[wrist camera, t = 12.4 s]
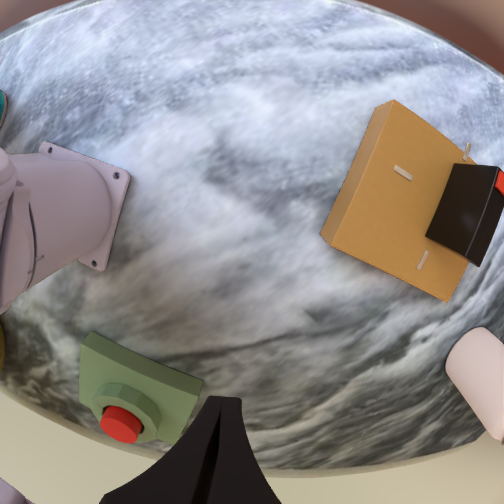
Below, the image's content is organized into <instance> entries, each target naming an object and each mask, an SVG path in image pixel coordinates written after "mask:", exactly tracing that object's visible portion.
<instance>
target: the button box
mask: <svg viewBox="0 0 504 504" xmlns="http://www.w3.org/2000/svg"><path fill="white" fill-rule="evenodd" d="M202 383H203V381H202V380H199V379H197V378H194V377H191V376H189V375H186V374H184V373H181V372H179V371H176V370H174V369H171V368H169V367H166V366H164V365H162V364H159V363H157V362H155V361H152V360H150V359H148V358H145V357H143V356H141V355H139V354H137V353H135V352H132V351H130V350H128V349H126V348H124V347H122V346H120V345H118V344H116V343H114V342H112V341H110V340H108V339H106V338H104V337H102V336H100V335H98V334H97V333H95V332H93V331H92V332H91V333H90V334H89V335H88V336H87V337H86V338H85V339H84V341H83V342H82V343H81V350H80V372H79V402H80V403H82V404H84V405H86V406H87V407H89V408H91V410H92V412H93V413H94V415H95V417H96V418H97V420H98V421H99V423H100V420H101V418H102V416H103V415H104V413H105V411H106V409H107V408H108V407H109V406H119V407H122V408H124V409H126V410H128V411H130V412H132V413H133V414H134V415H135V416H137V417H138V418H139V419H140V420H141V422H142V428H141V430H140V433H139V435H138V438H137V440H136V442H147V441H150V440H153V439H155V438H157V439H159V440H162V441H165V442H167V443H170V444H173V445H175V444H176V442H177V441H178V439H179V437H180V435H181V433H182V431H183V429H184V427H185V425H186V423H187V421H188V419H189V417H190V415H191V413H192V411H193V409H194V407H195V405H196V403H197V400H198V398H199V396H200V391H201V387H202Z"/></svg>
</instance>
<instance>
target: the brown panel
mask: <svg viewBox="0 0 504 504" xmlns="http://www.w3.org/2000/svg"><path fill="white" fill-rule="evenodd" d="M470 148H471V144H470V143H469V142H467V144H466V147H465V151H464V152H463V151H462V150H461V149H459V148H458V147H457V146H456V145H455V144H454V143H452V142H451V141H450V140H449V139H448V138H446V137H445V136H444V135H443V134H441V133H440V132H439V131H438V130H436V129H435V128H434V127H433V126H431V125H430V124H429V123H427V122H426V121H425V120H423V119H422V118H420V117H419V116H418V115H416V114H415V113H413V112H412V111H411V110H409V109H408V108H406V107H405V106H403V105H402V104H400V103H399V102H397V101H396V100H394V99H393V100H391V101H389V102H386V103H384V104H382V105H380V106H378V107H376V108H375V110H374V112H373V115H372V117H371V120H370V122H369V125H368V127H367V130H366V132H365V135H364V137H363V139H362V142H361V144H360V146H359V149H358V151H357V153H356V156H355V158H354V160H353V163H352V165H351V167H350V170H349V172H348V174H347V176H346V179H345V181H344V183H343V185H342V187H341V190H340V192H339V194H338V196H337V198H336V201H335V203H334V205H333V207H332V209H331V211H330V213H329V216H328V218H327V220H326V222H325V224H324V226H323V228H322V230H321V232H320V235H321V236H322V237H323V238H324V239H325V241H326V242H327V243H328V244H329V245H330V246H331V247H334V248H336V249H338V250H340V251H342V252H344V253H347V254H349V255H351V256H353V257H355V258H357V259H359V260H361V261H364V262H366V263H368V264H370V265H372V266H374V267H376V268H378V269H380V270H382V271H384V272H386V273H388V274H391V275H393V276H395V277H397V278H399V279H401V280H403V281H405V282H407V283H409V284H411V285H413V286H415V287H417V288H419V289H421V290H423V291H425V292H427V293H429V294H431V295H433V296H434V297H436V298H438V299H440V300H442V301H444V302H446V303H448V301H449V300H450V298H451V296H452V294H453V292H454V291H455V289H456V287H457V285H458V283H459V281H460V279H461V277H462V275H463V273H464V271H465V269H466V267H467V265H468V263H469V262H468V261H466V260H465V259H463V258H461V257H459V256H457V255H456V254H454V253H452V252H450V251H448V250H446V249H444V248H442V247H440V246H439V245H437V244H436V243H434V242H432V241H431V240H429V239H428V238H426V237H425V234H426V232H427V230H428V227H429V225H430V223H431V221H432V218H433V216H434V214H435V211H436V209H437V207H438V204H439V202H440V199H441V197H442V194H443V192H444V189H445V187H446V184H447V181H448V179H449V176H450V173H451V170H452V168H453V165H454V163H460V164H475V165H477V164H476V163H475V162H474V161H473V160H472V159H471V158H470V157H468V155H469V151H470Z"/></svg>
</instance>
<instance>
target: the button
mask: <svg viewBox="0 0 504 504" xmlns="http://www.w3.org/2000/svg"><path fill="white" fill-rule="evenodd" d="M100 426H101V428H102V429H103V430H104V432H106V433H107V434H108V435H109V436H111V437H112V438H114V439H116V440H118V441H120V442H124V443H134V442H136V440H137V438H138V435H139V433H140V430H141V428H142V422H141V420H140V419H139V418H138V417H137V416H135V415H134V414H133V413H132V412H130V411H128V410H126V409H124V408H122V407H119V406H109V407H108V408H107V409H106V411H105V413H104V415H103V416H102V418H101V420H100Z"/></svg>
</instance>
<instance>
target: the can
mask: <svg viewBox="0 0 504 504" xmlns="http://www.w3.org/2000/svg"><path fill="white" fill-rule="evenodd" d="M445 368H446V373H447V374H448V376H449V377H450V379H451V380H452V382H453V383H454V384H455V386H456V387H457V388H458V390H459V391H460V392H461V394H462V395H463V397H464V398H465V399H466V401H467V402H468V404H469V405H470V406H471V408H472V409H473V411H474V412H475V414H476V415H477V417H478V418H479V419H480V421H481V422H482V424H483V425H484V427H485V428H486V430H487V431H488V433H489V434H490V435H491V437H493V438H495V439H497V440H500V441H501V444H502V445H504V344H503V343H502V342H501V341H499V340H498V339H497V338H496V337H495V336H494V335H493V334H492V333H490V332H489V331H488V330H487V329H486V328H484V327H478V328H474V329H471V330H469V331H468V332H466V333H465V334H464V335H462V336H461V337H460V338H459V339H458V340H457V342H456V343H455V344H454V346H453V347H452V349H451V350H450V352H449V354H448V357H447V360H446V366H445Z"/></svg>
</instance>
